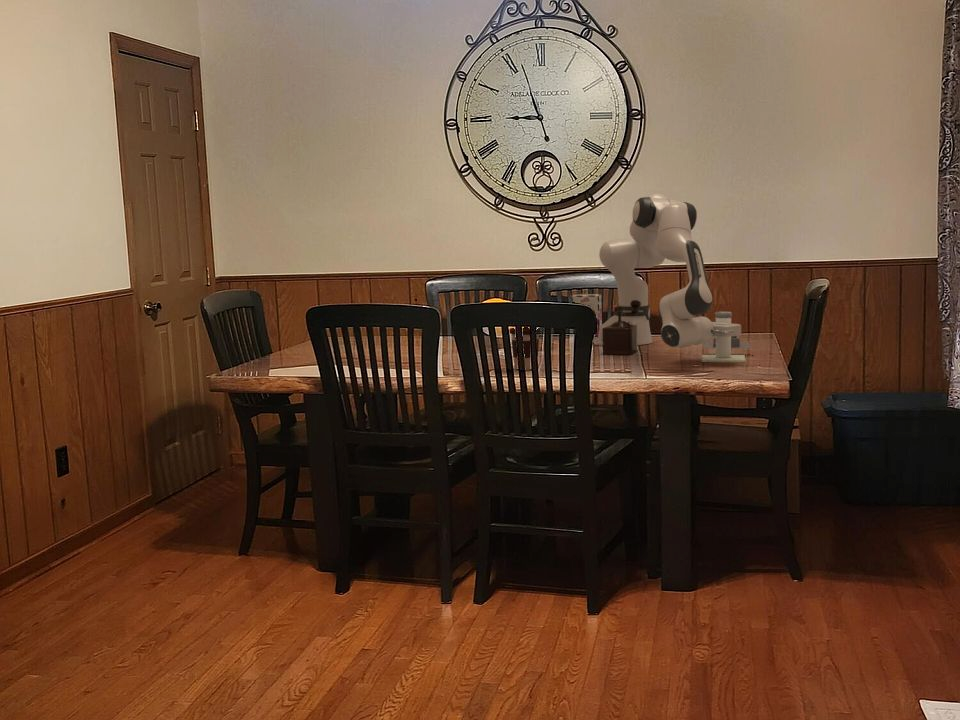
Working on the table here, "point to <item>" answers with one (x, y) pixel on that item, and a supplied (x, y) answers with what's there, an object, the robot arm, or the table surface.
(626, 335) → the pepper mill
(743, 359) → the pad
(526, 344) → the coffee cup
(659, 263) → the robot arm
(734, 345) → the housing
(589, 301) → the candy bar box
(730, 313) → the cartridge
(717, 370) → the table surface
